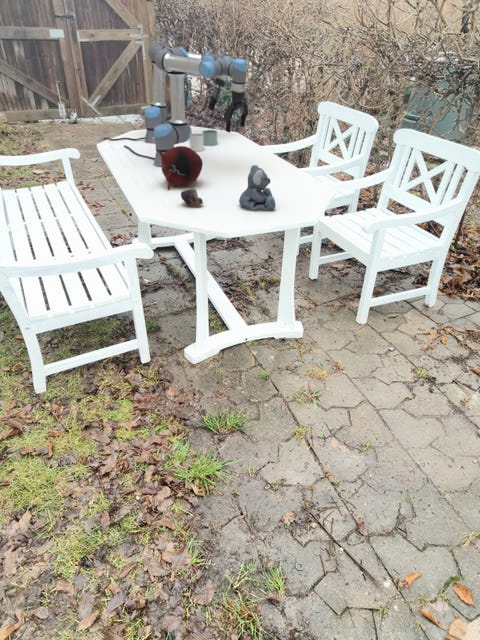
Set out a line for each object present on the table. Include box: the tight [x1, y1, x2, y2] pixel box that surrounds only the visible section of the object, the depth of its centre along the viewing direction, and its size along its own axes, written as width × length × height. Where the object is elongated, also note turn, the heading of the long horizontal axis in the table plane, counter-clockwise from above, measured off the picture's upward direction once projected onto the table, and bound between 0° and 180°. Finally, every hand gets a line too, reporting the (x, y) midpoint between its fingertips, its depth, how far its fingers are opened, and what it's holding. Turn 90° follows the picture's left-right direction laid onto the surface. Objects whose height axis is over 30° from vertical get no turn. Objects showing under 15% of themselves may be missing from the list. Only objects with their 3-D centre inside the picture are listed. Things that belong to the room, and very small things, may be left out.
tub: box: [201, 129, 218, 147], centre depth 335 cm, size 11×11×9 cm
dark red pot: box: [158, 145, 203, 191], centre depth 255 cm, size 21×24×25 cm
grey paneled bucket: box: [188, 132, 205, 153], centre depth 321 cm, size 10×10×10 cm
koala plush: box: [238, 164, 276, 211], centre depth 224 cm, size 17×18×20 cm
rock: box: [180, 188, 204, 207], centre depth 229 cm, size 12×9×10 cm
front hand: (235, 129), depth 267 cm, fingers open, 13 cm apart
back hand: (210, 109), depth 334 cm, fingers open, 13 cm apart
